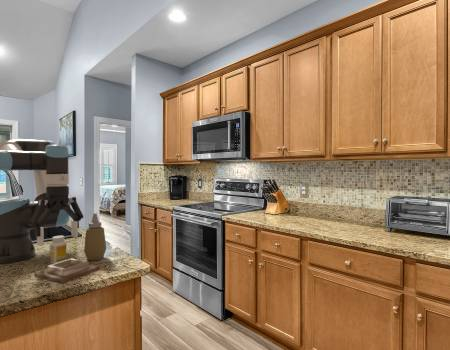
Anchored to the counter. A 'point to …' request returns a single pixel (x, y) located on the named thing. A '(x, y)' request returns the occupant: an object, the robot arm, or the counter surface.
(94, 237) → the squeeze bottle
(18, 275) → the counter surface
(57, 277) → the collar holder
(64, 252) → the supplement bottle
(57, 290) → the counter surface
